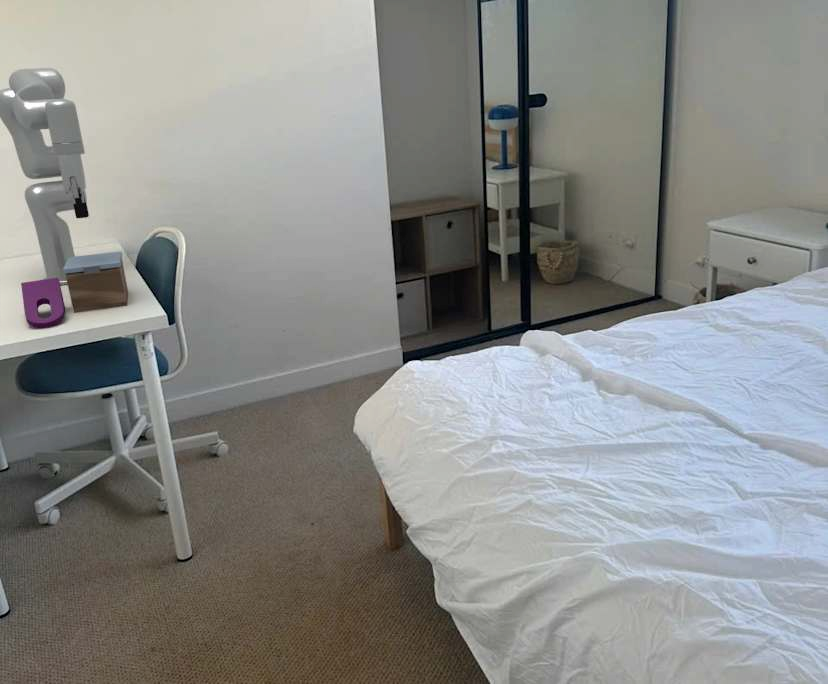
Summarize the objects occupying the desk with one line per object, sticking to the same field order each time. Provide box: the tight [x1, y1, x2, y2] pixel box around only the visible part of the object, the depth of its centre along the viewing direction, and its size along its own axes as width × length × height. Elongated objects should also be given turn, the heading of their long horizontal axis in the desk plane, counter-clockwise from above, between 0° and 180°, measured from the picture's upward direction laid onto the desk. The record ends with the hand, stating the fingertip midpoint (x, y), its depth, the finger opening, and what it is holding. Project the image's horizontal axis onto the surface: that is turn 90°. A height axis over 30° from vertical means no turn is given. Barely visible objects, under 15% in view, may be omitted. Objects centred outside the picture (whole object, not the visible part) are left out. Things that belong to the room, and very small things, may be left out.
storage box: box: [66, 259, 129, 314], centre depth 214 cm, size 16×14×11 cm
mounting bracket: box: [20, 278, 66, 329], centre depth 203 cm, size 10×8×18 cm
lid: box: [63, 250, 123, 275], centre depth 212 cm, size 17×15×2 cm
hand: (82, 217), depth 204 cm, fingers closed
